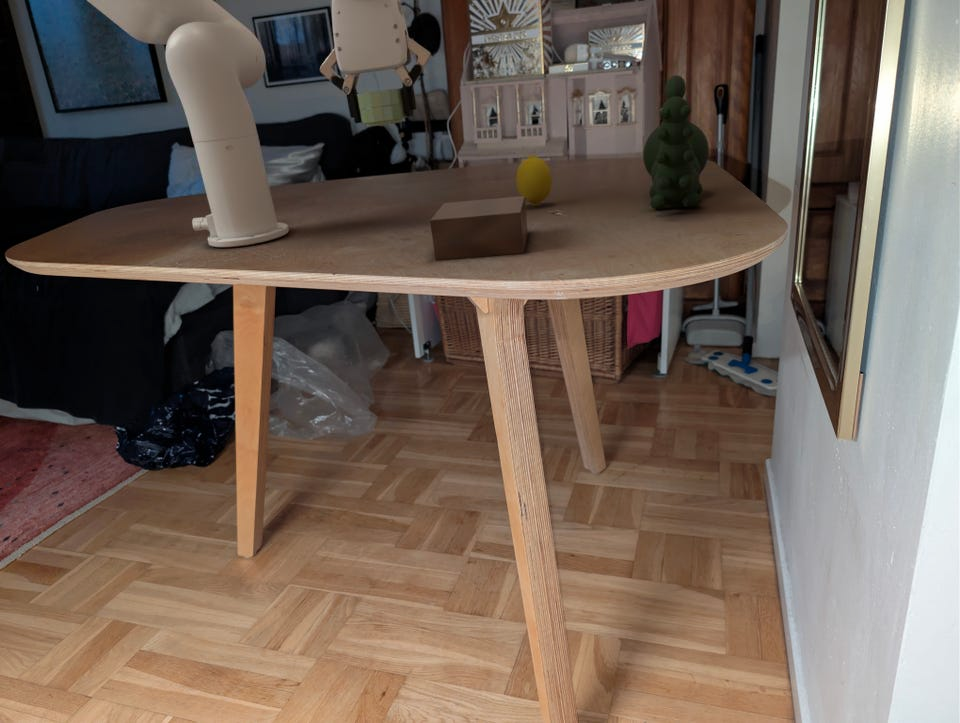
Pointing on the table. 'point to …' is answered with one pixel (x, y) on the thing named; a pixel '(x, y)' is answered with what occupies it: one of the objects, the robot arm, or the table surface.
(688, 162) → the toy figurine
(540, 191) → the lemon
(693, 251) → the table surface
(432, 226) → the stand
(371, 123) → the bowl
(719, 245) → the table surface
